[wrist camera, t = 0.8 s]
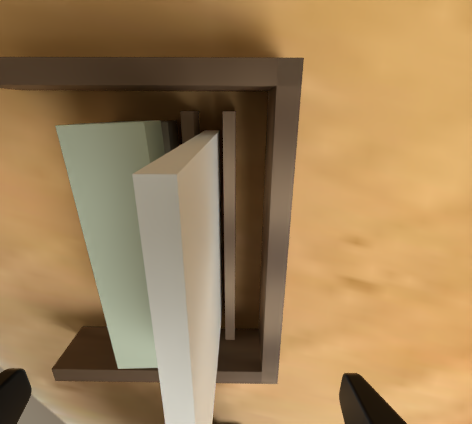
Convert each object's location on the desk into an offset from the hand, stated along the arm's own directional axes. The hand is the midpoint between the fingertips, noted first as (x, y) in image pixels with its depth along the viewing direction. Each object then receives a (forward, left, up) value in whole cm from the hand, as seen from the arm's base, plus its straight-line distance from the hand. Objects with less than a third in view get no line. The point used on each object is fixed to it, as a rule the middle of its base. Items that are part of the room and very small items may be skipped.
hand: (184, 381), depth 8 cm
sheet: (0, 0, -10) cm, 10 cm away
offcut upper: (0, +4, -8) cm, 9 cm away
